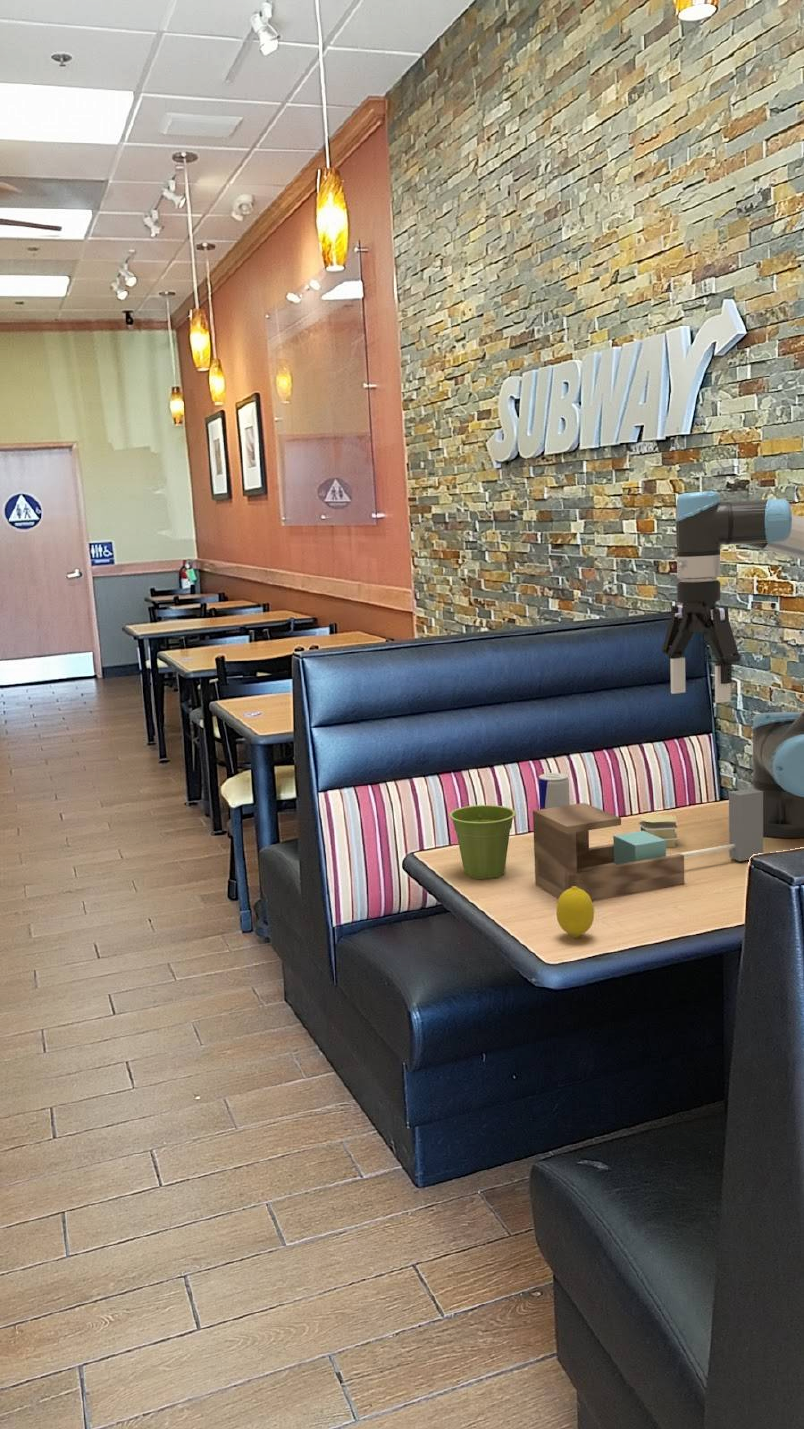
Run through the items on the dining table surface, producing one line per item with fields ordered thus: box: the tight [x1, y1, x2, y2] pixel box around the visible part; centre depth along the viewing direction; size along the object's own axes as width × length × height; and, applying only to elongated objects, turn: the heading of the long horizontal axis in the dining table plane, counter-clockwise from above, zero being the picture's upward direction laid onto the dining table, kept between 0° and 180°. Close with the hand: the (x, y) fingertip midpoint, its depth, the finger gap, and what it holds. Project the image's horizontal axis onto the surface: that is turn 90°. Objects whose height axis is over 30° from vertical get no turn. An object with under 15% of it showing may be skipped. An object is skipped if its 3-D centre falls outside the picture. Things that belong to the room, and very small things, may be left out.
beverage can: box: [538, 772, 571, 810], centre depth 207 cm, size 6×6×15 cm
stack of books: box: [638, 813, 678, 848], centre depth 209 cm, size 10×9×6 cm
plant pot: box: [448, 804, 517, 880], centre depth 197 cm, size 12×12×11 cm
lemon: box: [556, 886, 595, 939], centre depth 164 cm, size 6×6×8 cm
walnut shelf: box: [532, 802, 685, 902], centre depth 187 cm, size 22×12×13 cm, turn 110°
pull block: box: [612, 787, 764, 865], centre depth 193 cm, size 28×7×12 cm, turn 110°
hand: (699, 697), depth 200 cm, fingers open, 13 cm apart
